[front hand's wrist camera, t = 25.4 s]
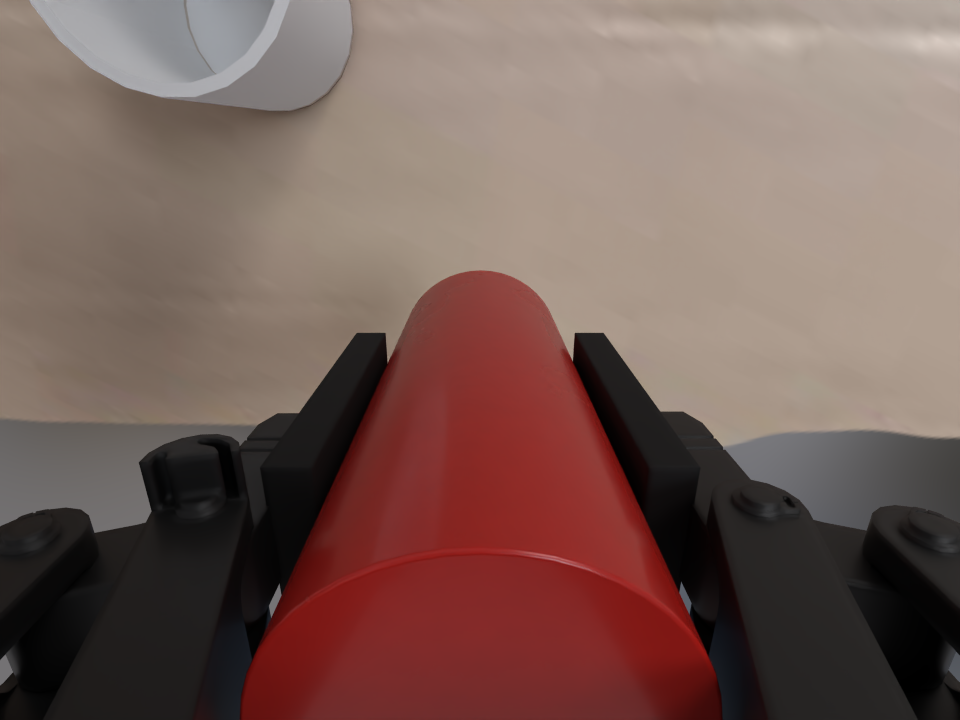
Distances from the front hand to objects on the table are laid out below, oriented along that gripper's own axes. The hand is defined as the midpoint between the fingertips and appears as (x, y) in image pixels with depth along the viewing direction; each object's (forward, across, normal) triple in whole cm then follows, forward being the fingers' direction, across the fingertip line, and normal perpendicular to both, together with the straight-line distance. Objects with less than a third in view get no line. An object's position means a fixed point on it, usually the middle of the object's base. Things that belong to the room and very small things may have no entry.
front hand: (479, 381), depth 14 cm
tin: (+3, 0, 0) cm, 3 cm away
